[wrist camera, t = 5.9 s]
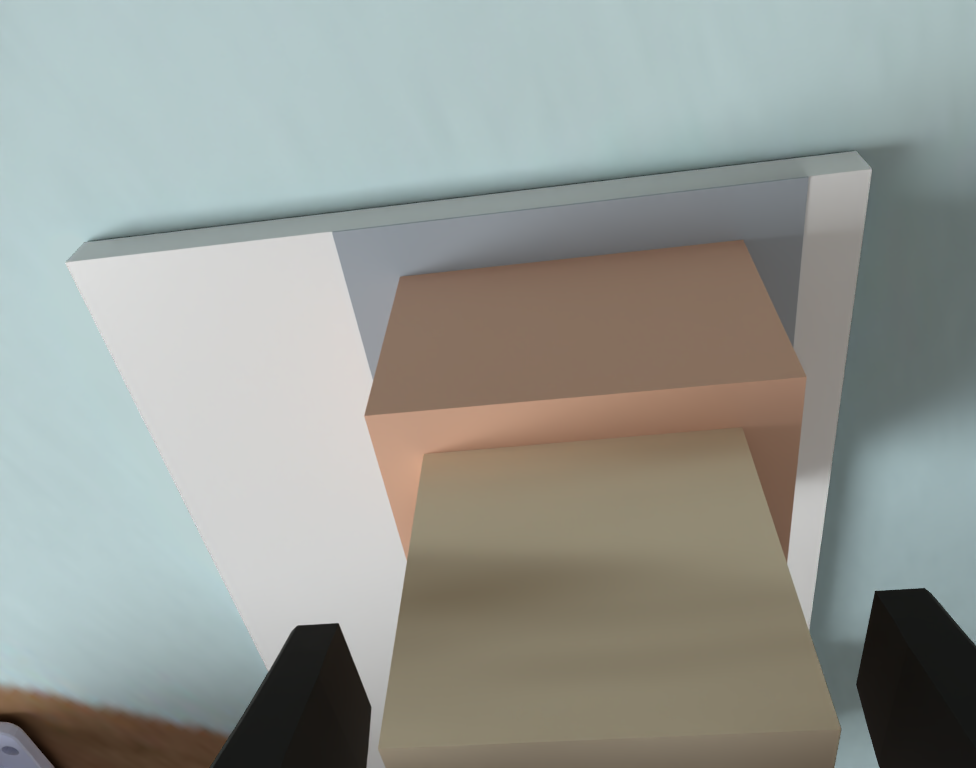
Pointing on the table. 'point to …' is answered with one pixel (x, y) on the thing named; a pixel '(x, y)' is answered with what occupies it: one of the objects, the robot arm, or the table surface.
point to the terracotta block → (587, 363)
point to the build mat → (357, 345)
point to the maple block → (602, 614)
